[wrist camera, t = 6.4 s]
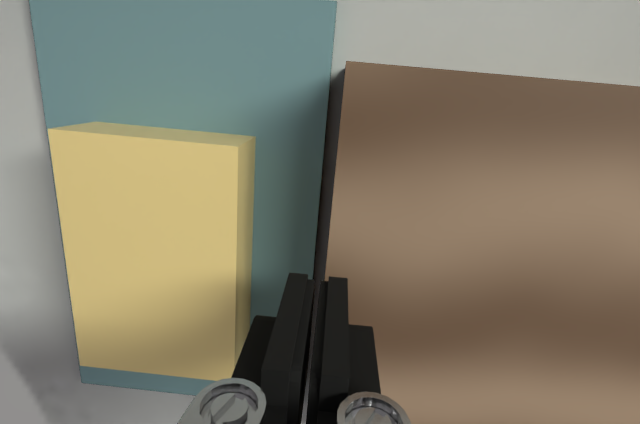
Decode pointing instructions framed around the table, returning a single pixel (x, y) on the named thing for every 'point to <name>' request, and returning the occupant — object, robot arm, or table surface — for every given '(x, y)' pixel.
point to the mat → (204, 108)
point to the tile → (156, 245)
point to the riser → (492, 242)
